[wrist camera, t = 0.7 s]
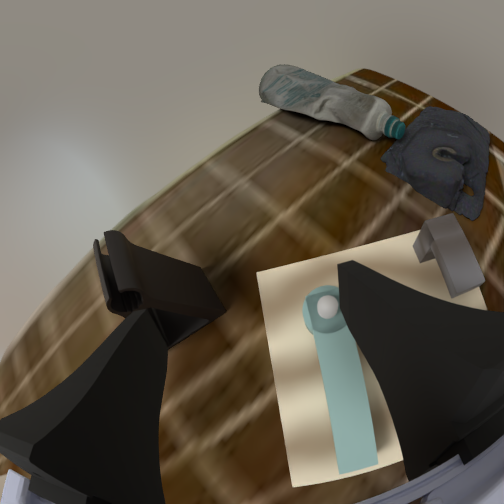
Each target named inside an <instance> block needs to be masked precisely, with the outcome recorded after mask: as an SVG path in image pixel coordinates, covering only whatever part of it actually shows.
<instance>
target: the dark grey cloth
mask: <svg viewBox="0 0 504 504" xmlns="http://www.w3.org/2000/svg"><path fill="white" fill-rule="evenodd" d="M489 143H490V138H489V133H488V131H487V130H486V129H485V128H483V127H482V126H481V125H479V124H478V123H477V122H475V121H473V119H472V118H470V117H469V116H467V115H466V114H463V113H459V112H456V111H452V110H444V109H441V108H438V107H431V106H429V107H427V108H425V109H424V110H423V111H422V112H421V113H420V116H419V117H417V118H416V119H415V120H414V121H413V122H412V123H411V124H410V125H409V126H408V127H407V128H406V130H405V132H404V135H403V137H402V138H401V139H397V140H396V141H395V143H394V144H393V145H392V146H391V147H390V148H389V149H388V150H387V151H386V152H385V153H384V155H383V156H382V157H381V160H382V161H383V162H385V163H386V165H387V168H386V172H388V173H391V174H393V175H395V176H397V177H398V178H400V179H402V180H404V181H406V182H407V183H409V184H410V185H411V186H412V187H413V188H414V189H415V190H416V191H417V192H419V193H420V194H422V195H423V196H425V197H426V198H428V199H430V200H432V201H433V202H435V203H436V204H438V205H440V206H441V207H443V208H449V209H450V210H451V211H453V210H454V211H455V212H457V213H458V214H459V215H461V214H463V215H464V216H466V217H467V218H470V220H472V221H473V220H475V219H476V218H478V216H479V215H480V211H481V209H482V207H483V200H484V195H485V183H486V179H485V177H486V173H487V172H488V165H489V159H488V155H489ZM463 184H465V185H467V186H469V187H471V188H472V189H473V191H474V195H473V196H469V195H468V194H466V193H465V192H463V191H462V190H461V189H463Z"/></svg>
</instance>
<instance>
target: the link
mask: <svg viewBox="0 0 504 504" xmlns="http://www.w3.org/2000/svg"><path fill="white" fill-rule="evenodd" d="M302 312H303V317H304V321H305V325H306V327H307V329H308V330H309V332H310V333H311V334H313V335H314V340H315V345H316V349H317V354H318V359H319V364H320V369H321V374H322V379H323V384H324V389H325V394H326V400H327V405H328V410H329V416H330V422H331V427H332V433H333V439H334V445H335V452H336V458H337V465H338V470H339V475H340V474H344V473H349V472H353V471H356V470H360V469H364V468H367V467H370V466H374V465H377V464H378V457H377V449H376V442H375V436H374V429H373V423H372V418H371V412H370V406H369V401H368V396H367V391H366V386H365V381H364V376H363V372H362V367H361V363H360V359H359V354H358V350H357V346H356V342H355V339H354V338H353V336H352V334H351V332H350V331H349V329H348V326H347V324H346V322H345V319H344V317H343V315H342V312H341V310H340V302H339V288H338V287H336V286H331V285H325V286H320V287H318V288H316V289H314V290H312V291H311V292H310V293H309V294H308V295H307V296H305V300H304V303H303V308H302Z"/></svg>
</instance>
